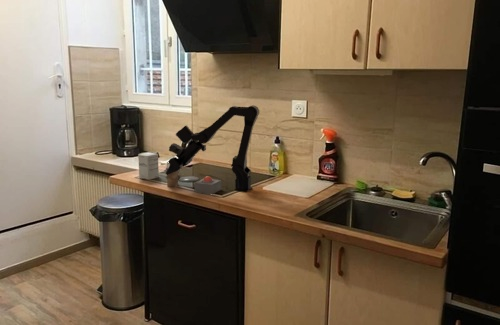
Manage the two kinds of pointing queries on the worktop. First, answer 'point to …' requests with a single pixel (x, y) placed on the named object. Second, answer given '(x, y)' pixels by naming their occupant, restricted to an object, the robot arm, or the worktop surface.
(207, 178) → the dome button
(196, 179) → the slate coaster
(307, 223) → the worktop surface
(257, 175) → the worktop surface
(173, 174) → the brown tapered cup
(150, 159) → the supplement box
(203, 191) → the button housing
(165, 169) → the white crumpled paper
